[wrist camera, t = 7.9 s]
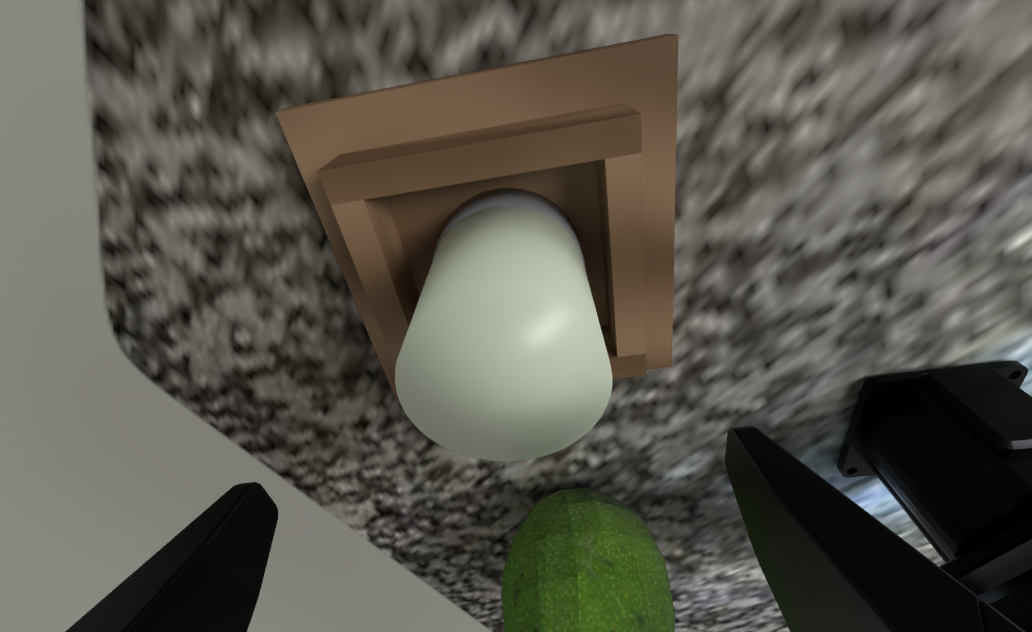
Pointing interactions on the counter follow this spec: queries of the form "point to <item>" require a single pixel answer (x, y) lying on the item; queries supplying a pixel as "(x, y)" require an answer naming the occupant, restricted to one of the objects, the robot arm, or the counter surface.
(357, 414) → the counter surface
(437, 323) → the white rounded cylinder
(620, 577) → the avocado
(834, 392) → the counter surface
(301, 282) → the counter surface
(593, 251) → the holder
